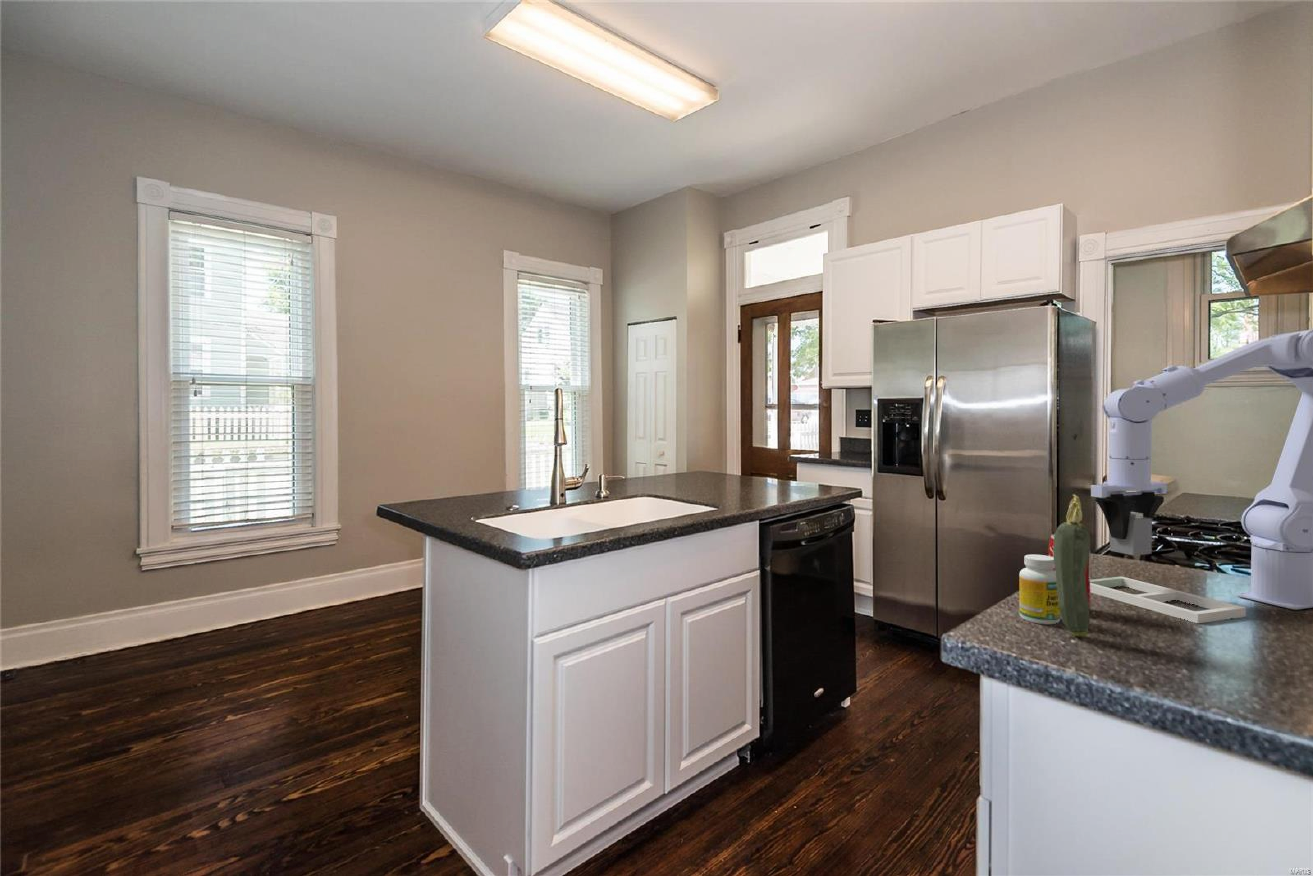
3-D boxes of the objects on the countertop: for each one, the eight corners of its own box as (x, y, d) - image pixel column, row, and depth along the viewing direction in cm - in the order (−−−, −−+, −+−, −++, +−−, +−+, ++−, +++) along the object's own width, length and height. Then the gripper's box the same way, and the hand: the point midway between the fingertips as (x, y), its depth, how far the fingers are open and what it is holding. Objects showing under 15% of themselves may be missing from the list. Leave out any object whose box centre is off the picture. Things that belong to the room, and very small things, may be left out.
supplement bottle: (1029, 611, 97) (1030, 551, 97) (1067, 620, 92) (1067, 557, 92) (1012, 618, 94) (1012, 556, 94) (1050, 627, 89) (1050, 563, 89)
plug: (1127, 548, 107) (1128, 510, 107) (1151, 553, 103) (1152, 513, 103) (1109, 550, 106) (1110, 511, 106) (1133, 555, 102) (1134, 515, 102)
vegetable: (1078, 644, 83) (1079, 498, 82) (1046, 634, 87) (1046, 494, 86) (1096, 638, 85) (1097, 495, 84) (1064, 629, 89) (1064, 492, 88)
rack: (1121, 584, 111) (1121, 576, 111) (1245, 616, 93) (1245, 607, 93) (1078, 588, 108) (1078, 581, 108) (1197, 623, 90) (1197, 614, 90)
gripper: (1137, 455, 110) (1136, 530, 110) (1074, 458, 106) (1073, 535, 107) (1180, 458, 103) (1179, 537, 104) (1114, 461, 99) (1113, 543, 100)
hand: (1128, 537), depth 105 cm, fingers closed on plug, 4 cm apart
